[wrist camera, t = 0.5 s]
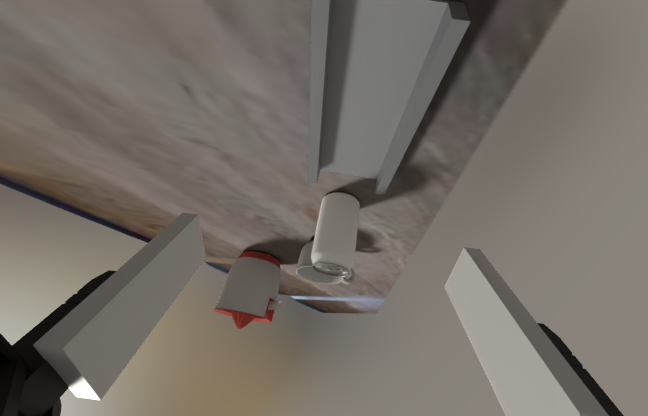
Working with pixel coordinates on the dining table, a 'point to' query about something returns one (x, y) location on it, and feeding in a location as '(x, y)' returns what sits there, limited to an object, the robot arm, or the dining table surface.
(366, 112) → the tray
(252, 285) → the citrus juicer
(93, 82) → the dining table surface
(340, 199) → the can
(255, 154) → the dining table surface
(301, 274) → the teacup
